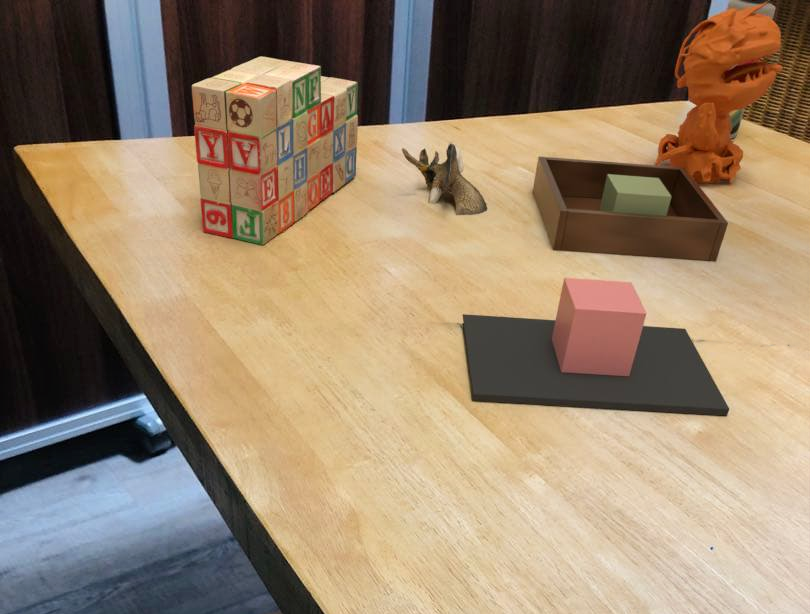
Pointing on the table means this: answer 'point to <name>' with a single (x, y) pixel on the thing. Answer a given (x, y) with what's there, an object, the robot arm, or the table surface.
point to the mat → (546, 385)
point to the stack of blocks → (271, 145)
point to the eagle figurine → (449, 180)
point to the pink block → (597, 327)
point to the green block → (635, 195)
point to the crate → (625, 232)
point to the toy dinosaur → (720, 90)
